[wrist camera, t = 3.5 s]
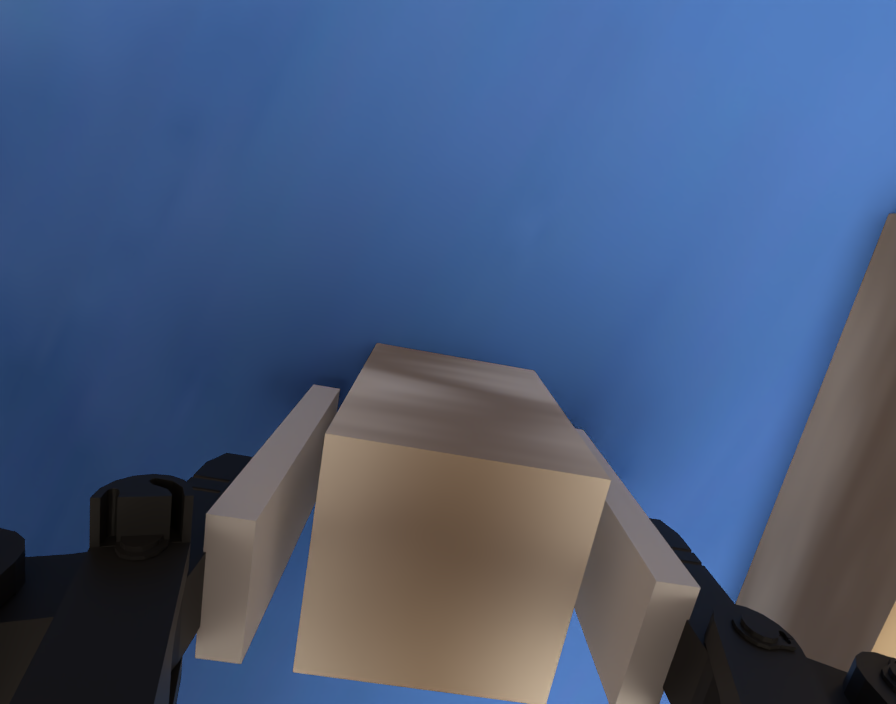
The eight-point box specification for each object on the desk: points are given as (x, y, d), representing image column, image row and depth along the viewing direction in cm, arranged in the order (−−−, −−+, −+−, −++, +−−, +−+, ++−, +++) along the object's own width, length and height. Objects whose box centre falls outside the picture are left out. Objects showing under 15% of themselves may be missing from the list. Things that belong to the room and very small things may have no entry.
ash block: (354, 486, 16) (292, 672, 9) (377, 342, 15) (324, 433, 8) (501, 509, 16) (545, 705, 10) (534, 370, 15) (611, 480, 8)
